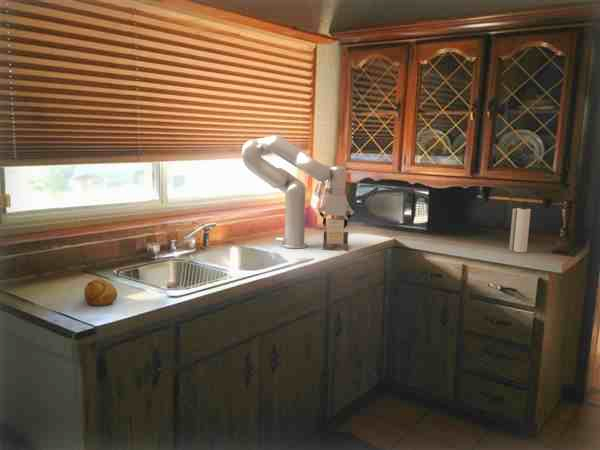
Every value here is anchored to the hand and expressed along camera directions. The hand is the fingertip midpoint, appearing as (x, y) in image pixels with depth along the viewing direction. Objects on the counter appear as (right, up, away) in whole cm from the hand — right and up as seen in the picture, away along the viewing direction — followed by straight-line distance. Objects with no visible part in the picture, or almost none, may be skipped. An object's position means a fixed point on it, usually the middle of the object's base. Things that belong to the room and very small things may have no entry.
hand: (334, 226), depth 262 cm
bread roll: (-81, -24, -89) cm, 123 cm away
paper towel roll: (+91, -12, +3) cm, 92 cm away
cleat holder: (0, -10, +1) cm, 10 cm away
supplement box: (0, -9, +1) cm, 9 cm away
